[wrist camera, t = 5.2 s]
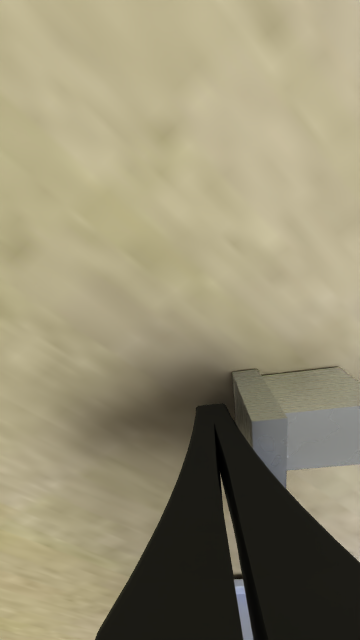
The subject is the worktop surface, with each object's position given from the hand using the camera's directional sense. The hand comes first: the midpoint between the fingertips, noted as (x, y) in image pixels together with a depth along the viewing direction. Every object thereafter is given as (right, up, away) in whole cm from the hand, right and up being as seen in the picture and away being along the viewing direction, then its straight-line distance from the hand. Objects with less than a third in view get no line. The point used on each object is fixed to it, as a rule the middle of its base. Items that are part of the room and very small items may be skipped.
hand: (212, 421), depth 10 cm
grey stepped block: (+4, +1, +1) cm, 4 cm away
